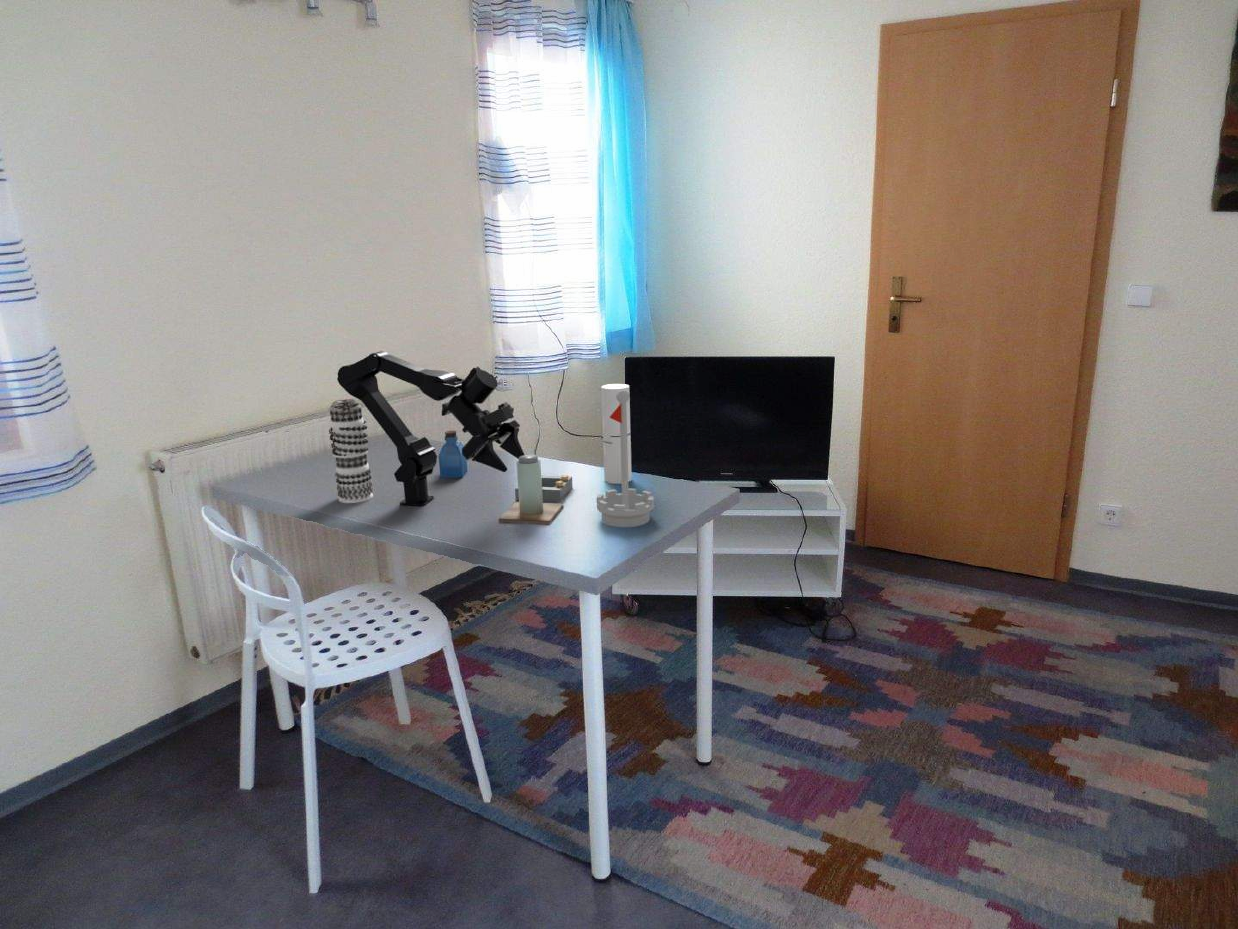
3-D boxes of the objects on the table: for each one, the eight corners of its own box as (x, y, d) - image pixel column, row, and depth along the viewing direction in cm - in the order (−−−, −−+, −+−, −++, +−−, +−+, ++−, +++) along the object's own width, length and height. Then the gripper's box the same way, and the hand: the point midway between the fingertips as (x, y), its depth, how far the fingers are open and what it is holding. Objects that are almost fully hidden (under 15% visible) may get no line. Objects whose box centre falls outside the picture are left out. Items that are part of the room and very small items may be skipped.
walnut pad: (549, 524, 193) (549, 520, 193) (499, 521, 196) (498, 518, 195) (563, 507, 205) (563, 503, 204) (515, 505, 207) (515, 502, 207)
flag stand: (618, 506, 204) (615, 382, 196) (665, 515, 197) (663, 387, 189) (585, 522, 194) (580, 392, 186) (633, 532, 186) (630, 397, 178)
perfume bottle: (463, 477, 231) (459, 434, 228) (440, 477, 231) (436, 434, 228) (467, 471, 237) (464, 429, 234) (445, 471, 237) (441, 429, 234)
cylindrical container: (628, 484, 221) (626, 389, 214) (601, 483, 222) (598, 388, 216) (633, 476, 228) (631, 383, 221) (607, 475, 229) (604, 383, 222)
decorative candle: (382, 493, 219) (371, 397, 212) (361, 504, 210) (349, 405, 204) (351, 491, 222) (340, 396, 215) (329, 502, 213) (317, 404, 206)
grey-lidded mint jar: (531, 516, 196) (528, 461, 193) (514, 511, 200) (511, 458, 196) (548, 509, 200) (545, 456, 197) (531, 505, 204) (528, 453, 200)
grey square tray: (560, 501, 209) (559, 486, 207) (515, 500, 211) (514, 484, 210) (572, 487, 219) (571, 472, 218) (529, 486, 222) (528, 471, 221)
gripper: (469, 401, 187) (517, 453, 186) (510, 386, 204) (554, 434, 203) (441, 434, 192) (487, 485, 191) (483, 416, 209) (526, 463, 208)
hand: (515, 465), depth 198 cm, fingers open, 9 cm apart
